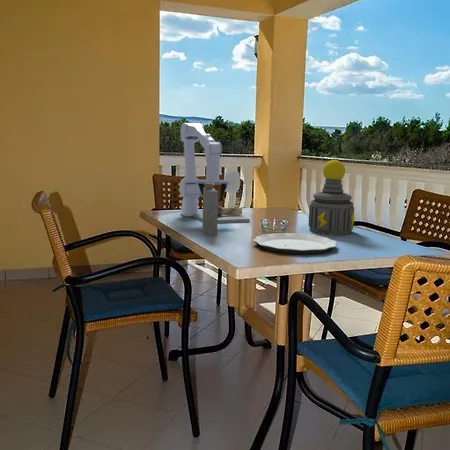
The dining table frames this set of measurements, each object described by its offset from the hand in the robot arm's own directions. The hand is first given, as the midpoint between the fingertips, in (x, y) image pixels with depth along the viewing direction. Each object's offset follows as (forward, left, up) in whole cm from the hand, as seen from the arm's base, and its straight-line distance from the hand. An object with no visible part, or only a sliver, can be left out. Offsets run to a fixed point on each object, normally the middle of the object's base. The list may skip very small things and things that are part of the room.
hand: (212, 201), depth 229 cm
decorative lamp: (+28, +44, -10) cm, 53 cm away
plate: (+53, +15, -11) cm, 56 cm away
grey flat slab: (-10, +8, -10) cm, 16 cm away
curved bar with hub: (-11, +9, -8) cm, 16 cm away
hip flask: (+21, -8, -10) cm, 24 cm away
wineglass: (-27, +19, -10) cm, 35 cm away
